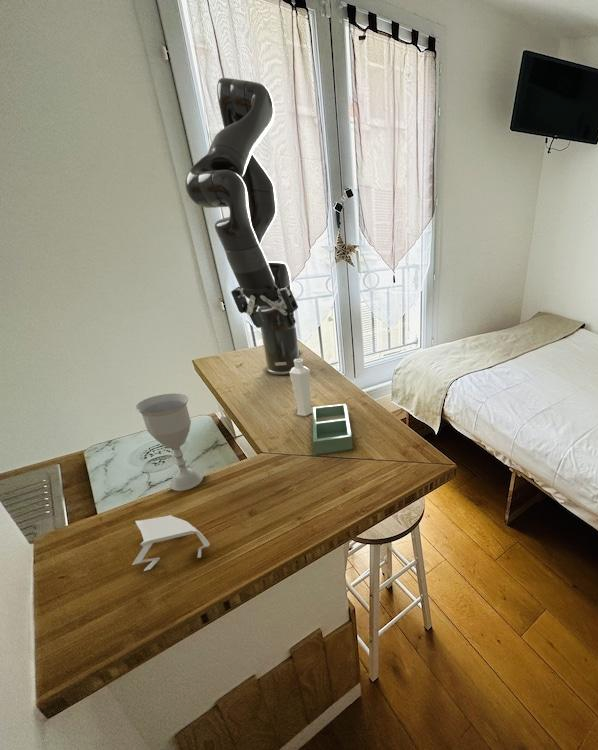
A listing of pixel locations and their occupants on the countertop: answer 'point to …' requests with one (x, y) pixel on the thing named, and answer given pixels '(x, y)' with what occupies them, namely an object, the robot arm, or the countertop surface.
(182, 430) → the chalice
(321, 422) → the holder
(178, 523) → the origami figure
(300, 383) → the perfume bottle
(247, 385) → the countertop surface
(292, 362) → the robot arm
